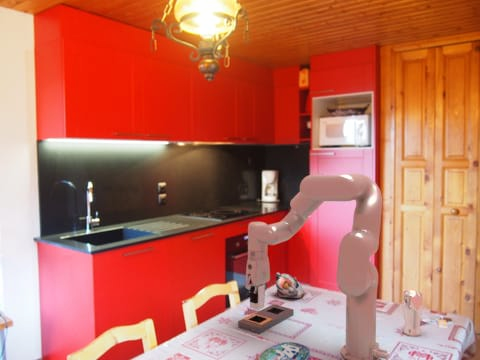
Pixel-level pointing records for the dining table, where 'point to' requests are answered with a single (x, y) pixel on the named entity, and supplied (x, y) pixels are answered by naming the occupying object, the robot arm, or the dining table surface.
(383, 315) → the dining table surface
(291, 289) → the lucky cat figurine
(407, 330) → the beer glass
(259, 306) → the steel peg
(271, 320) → the hole rail
